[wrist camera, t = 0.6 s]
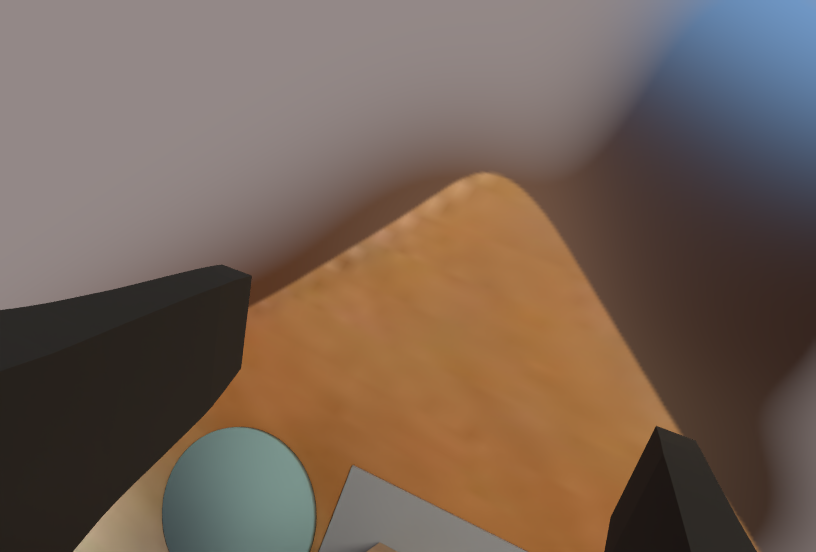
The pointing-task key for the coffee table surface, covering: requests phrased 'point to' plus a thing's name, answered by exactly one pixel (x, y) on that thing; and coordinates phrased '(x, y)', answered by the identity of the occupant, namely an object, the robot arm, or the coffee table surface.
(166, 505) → the coaster
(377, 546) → the walnut block
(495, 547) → the grey square plate
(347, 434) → the coffee table surface
